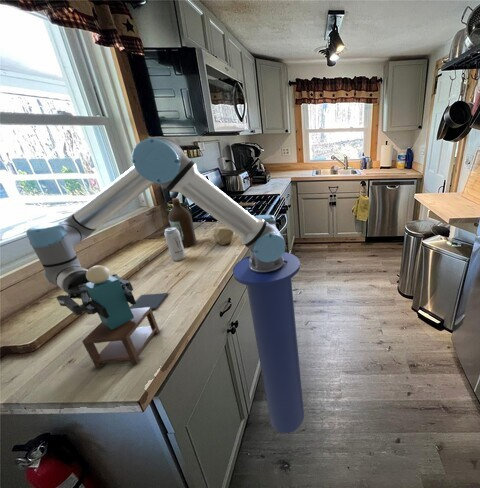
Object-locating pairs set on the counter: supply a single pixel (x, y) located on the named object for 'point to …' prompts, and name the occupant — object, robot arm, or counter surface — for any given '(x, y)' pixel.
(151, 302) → the coaster
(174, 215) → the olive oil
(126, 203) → the robot arm
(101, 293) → the toy
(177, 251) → the energy drink can
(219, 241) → the low-poly potato
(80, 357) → the counter surface
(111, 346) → the small wooden table
